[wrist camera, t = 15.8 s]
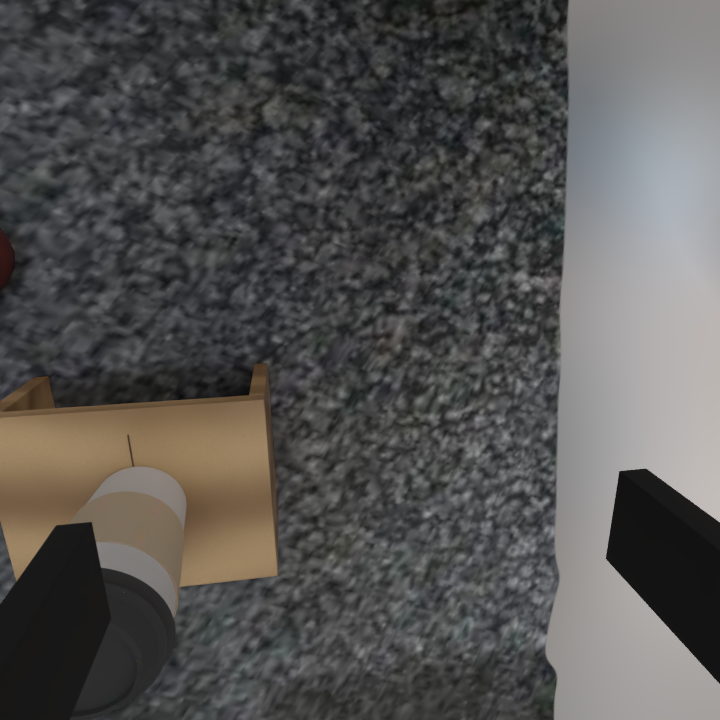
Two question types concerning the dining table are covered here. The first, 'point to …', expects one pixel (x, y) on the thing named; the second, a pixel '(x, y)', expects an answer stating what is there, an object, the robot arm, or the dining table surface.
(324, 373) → the dining table surface
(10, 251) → the potato
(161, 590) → the coffee cup
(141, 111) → the dining table surface
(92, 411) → the board
